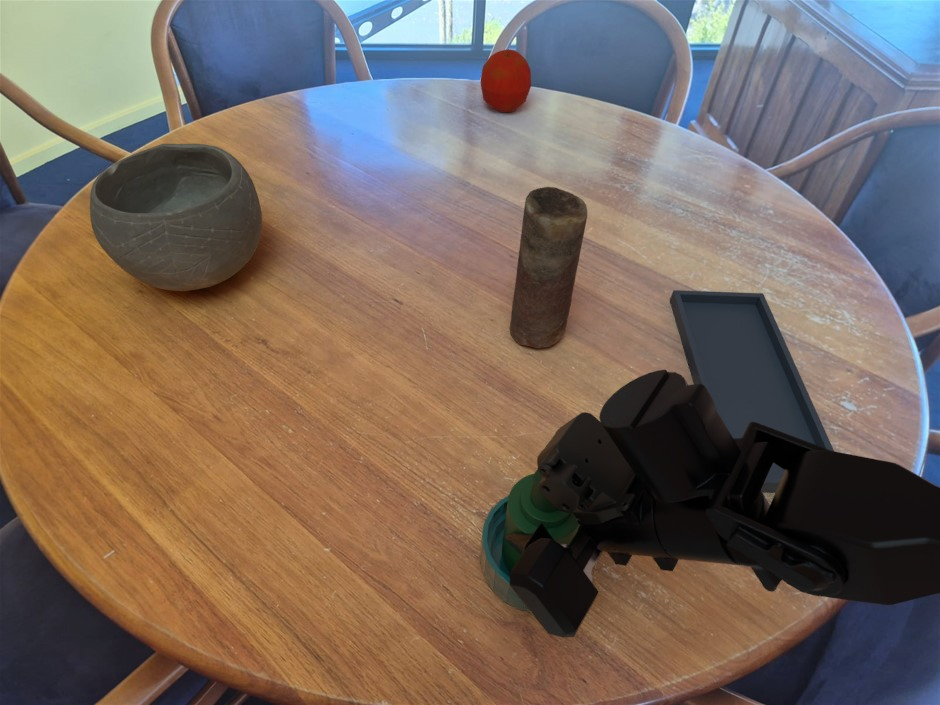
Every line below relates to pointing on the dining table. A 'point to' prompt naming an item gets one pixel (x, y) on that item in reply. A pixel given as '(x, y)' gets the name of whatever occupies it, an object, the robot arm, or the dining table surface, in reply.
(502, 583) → the glazed bowl
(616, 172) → the dining table surface
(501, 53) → the apple
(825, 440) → the tray
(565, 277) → the brown textured cylinder
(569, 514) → the bottle
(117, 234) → the bowl
